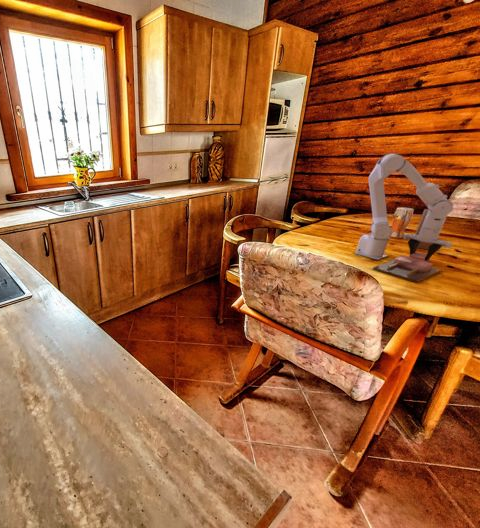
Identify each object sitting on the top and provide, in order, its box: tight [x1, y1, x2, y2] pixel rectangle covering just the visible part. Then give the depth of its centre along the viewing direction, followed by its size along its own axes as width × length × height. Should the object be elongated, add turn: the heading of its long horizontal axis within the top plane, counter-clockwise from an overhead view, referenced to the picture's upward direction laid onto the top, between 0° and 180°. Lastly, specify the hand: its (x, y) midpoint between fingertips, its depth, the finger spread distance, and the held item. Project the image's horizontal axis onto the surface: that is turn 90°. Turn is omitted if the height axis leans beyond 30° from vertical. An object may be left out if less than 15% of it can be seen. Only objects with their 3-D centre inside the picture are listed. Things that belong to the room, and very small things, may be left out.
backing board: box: [373, 255, 441, 284], centre depth 112 cm, size 14×18×4 cm
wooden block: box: [414, 208, 439, 252], centre depth 129 cm, size 9×4×18 cm, turn 49°
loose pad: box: [408, 251, 430, 262], centre depth 119 cm, size 4×7×3 cm, turn 115°
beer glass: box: [389, 206, 415, 239], centre depth 146 cm, size 7×7×15 cm
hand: (419, 258), depth 119 cm, fingers closed on loose pad, 4 cm apart
